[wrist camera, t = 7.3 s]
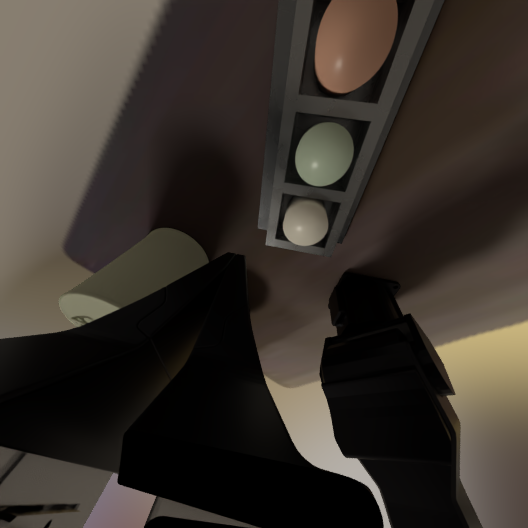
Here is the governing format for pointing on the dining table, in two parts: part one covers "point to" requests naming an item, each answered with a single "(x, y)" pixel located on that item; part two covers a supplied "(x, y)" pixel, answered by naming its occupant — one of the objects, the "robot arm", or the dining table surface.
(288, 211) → the white egg
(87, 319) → the can
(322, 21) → the brown egg
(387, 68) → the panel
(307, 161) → the green rounded piece
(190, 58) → the dining table surface
